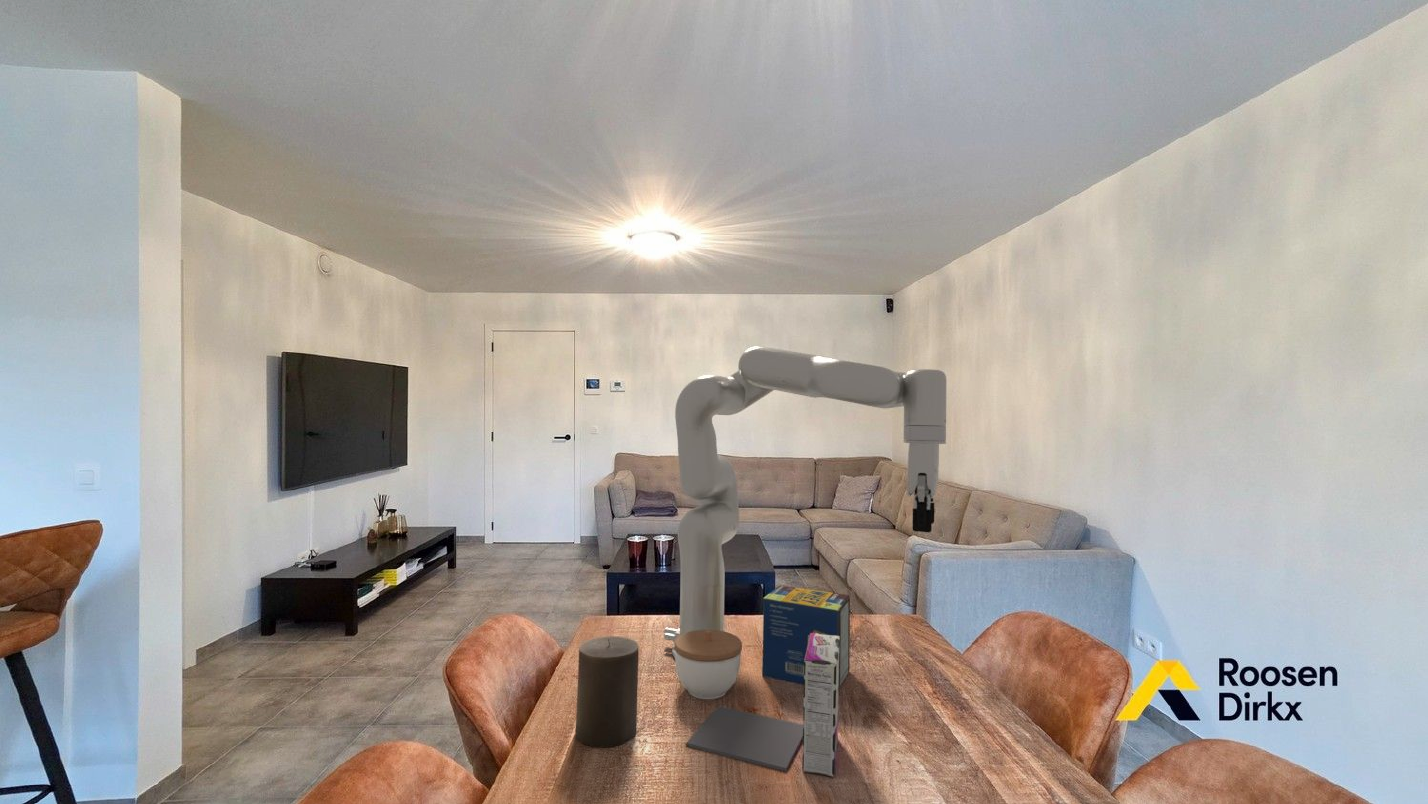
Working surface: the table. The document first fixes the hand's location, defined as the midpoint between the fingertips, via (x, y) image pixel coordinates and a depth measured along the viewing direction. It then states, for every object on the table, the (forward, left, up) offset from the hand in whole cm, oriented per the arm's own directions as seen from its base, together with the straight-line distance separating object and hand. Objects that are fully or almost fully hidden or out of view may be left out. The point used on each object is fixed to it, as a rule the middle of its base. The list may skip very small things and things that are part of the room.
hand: (923, 526), depth 111 cm
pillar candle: (-46, -35, -32) cm, 66 cm away
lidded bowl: (-37, -15, -32) cm, 51 cm away
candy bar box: (-13, -27, -31) cm, 43 cm away
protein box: (-22, 0, -32) cm, 38 cm away
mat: (-24, -27, -31) cm, 48 cm away
